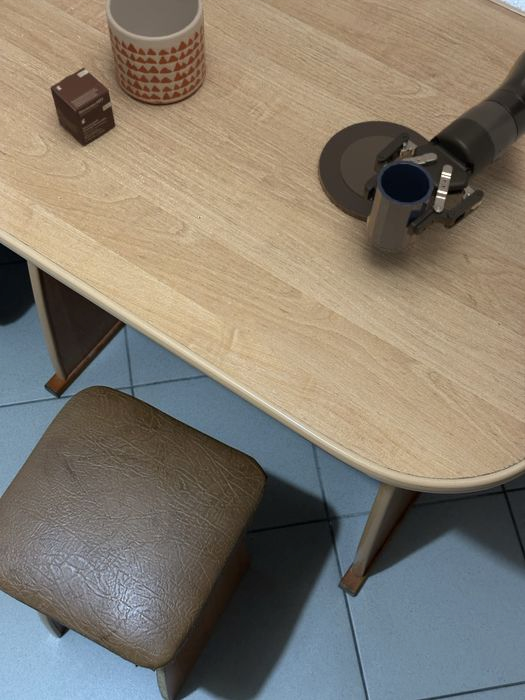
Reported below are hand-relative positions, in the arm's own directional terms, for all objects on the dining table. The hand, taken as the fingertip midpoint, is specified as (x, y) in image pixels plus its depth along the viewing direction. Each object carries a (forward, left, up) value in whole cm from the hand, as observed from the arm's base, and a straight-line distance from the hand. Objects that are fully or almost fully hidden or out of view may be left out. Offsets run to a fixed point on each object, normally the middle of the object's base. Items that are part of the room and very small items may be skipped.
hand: (387, 212), depth 104 cm
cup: (-2, -2, -6) cm, 6 cm away
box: (+41, -22, -12) cm, 49 cm away
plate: (-2, -15, -11) cm, 19 cm away
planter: (+31, -33, -12) cm, 47 cm away
